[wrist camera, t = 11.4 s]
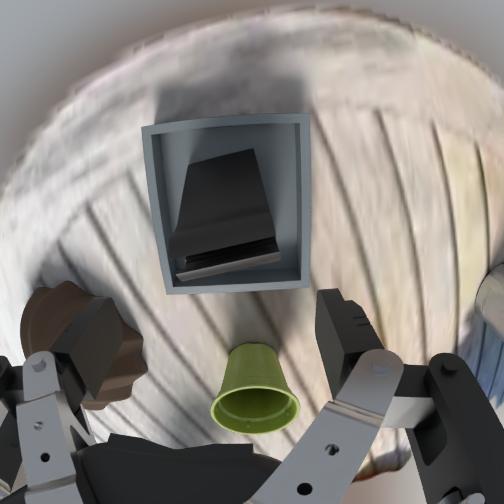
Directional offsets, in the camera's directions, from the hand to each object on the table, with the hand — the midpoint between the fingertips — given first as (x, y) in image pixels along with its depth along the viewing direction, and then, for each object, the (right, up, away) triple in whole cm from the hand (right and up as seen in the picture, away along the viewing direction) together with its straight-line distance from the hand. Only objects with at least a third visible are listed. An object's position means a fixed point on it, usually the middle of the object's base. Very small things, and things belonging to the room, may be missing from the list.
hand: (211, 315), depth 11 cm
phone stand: (0, +7, +16) cm, 18 cm away
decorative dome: (-22, -10, +24) cm, 34 cm away
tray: (0, +7, +17) cm, 18 cm away
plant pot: (+2, -11, +25) cm, 27 cm away
